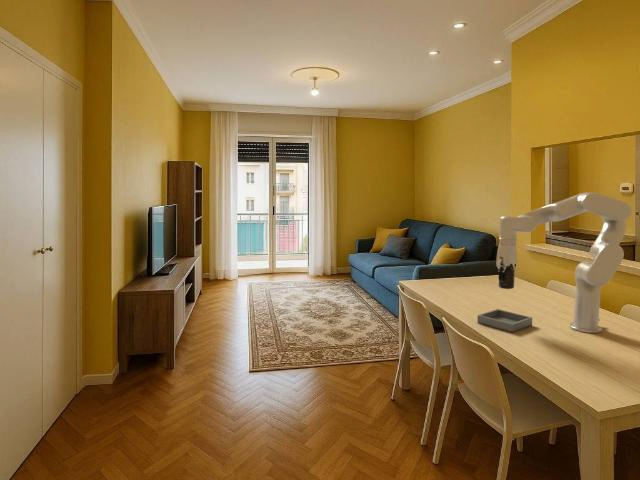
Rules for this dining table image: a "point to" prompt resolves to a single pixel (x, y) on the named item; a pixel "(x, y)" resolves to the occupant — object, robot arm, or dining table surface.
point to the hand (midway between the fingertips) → (506, 278)
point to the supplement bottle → (508, 278)
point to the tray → (505, 320)
